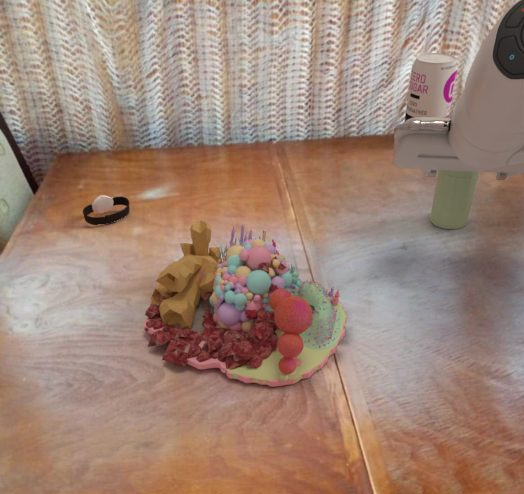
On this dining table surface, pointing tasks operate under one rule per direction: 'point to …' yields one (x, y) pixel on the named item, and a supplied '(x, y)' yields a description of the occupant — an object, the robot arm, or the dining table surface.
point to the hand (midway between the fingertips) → (465, 173)
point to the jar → (453, 198)
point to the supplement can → (431, 86)
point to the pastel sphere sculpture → (243, 312)
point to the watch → (105, 209)
